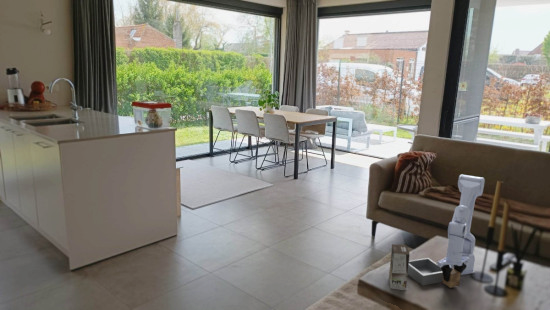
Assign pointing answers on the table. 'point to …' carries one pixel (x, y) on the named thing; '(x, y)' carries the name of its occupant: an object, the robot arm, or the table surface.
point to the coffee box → (399, 267)
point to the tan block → (453, 279)
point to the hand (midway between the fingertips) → (451, 279)
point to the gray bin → (425, 271)
